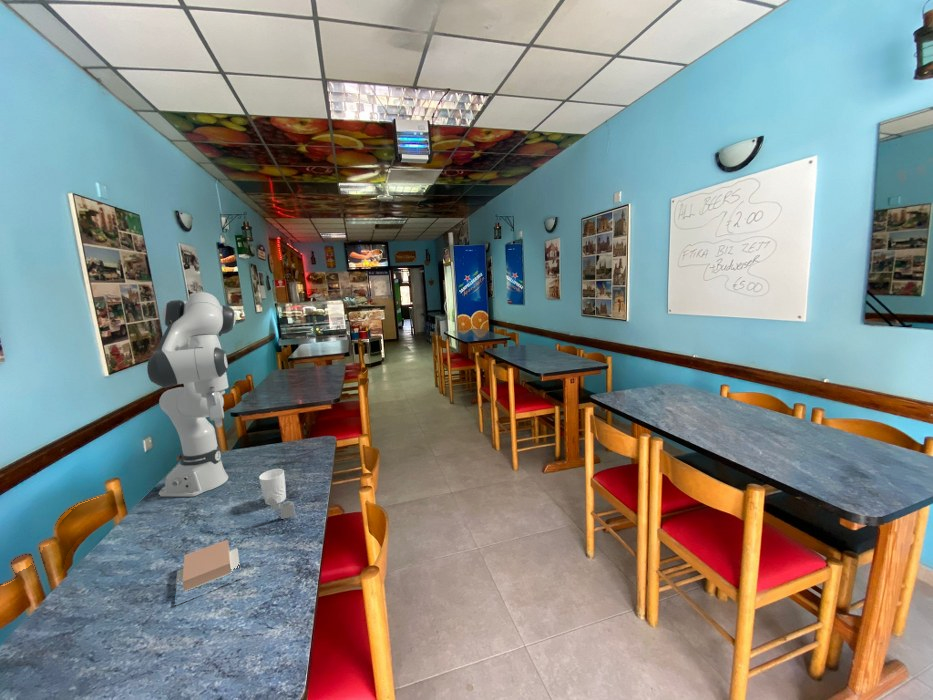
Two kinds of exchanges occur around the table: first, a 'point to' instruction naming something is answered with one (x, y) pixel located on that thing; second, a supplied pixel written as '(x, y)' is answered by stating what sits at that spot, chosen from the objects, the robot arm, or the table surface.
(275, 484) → the white cup
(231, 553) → the mat
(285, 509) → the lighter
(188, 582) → the tile
